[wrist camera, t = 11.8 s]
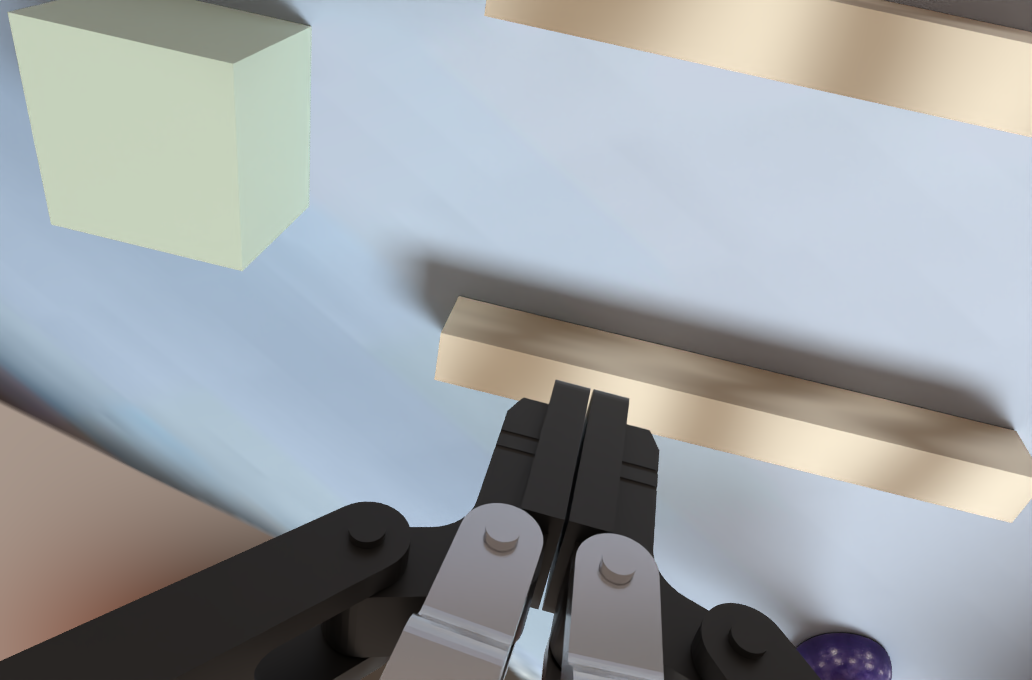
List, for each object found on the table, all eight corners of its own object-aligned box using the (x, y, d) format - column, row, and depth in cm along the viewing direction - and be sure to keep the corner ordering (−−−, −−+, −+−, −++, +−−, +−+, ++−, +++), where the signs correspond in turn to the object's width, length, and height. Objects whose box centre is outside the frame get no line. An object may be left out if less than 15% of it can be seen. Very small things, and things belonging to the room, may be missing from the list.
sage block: (313, 25, 23) (233, 63, 19) (310, 205, 26) (242, 271, 22) (127, -17, 23) (7, 12, 19) (148, 166, 26) (51, 224, 22)
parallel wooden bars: (1272, 83, 19) (1345, 112, 17) (985, 472, 27) (1011, 523, 25) (514, -80, 20) (496, -72, 18) (452, 340, 28) (434, 379, 26)
